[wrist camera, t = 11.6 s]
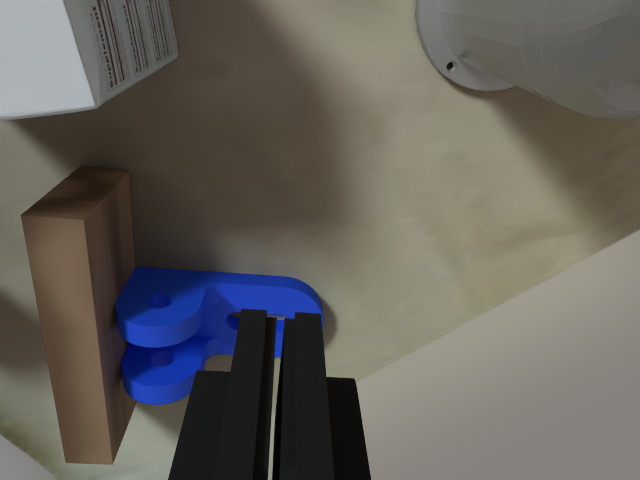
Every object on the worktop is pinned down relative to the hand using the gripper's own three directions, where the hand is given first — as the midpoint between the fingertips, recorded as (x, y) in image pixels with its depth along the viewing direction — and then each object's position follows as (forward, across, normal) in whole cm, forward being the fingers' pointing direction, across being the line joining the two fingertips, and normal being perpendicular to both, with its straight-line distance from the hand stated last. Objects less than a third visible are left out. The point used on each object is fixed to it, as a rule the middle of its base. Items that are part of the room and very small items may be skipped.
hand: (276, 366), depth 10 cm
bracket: (+32, +4, +22) cm, 39 cm away
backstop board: (+32, +15, +20) cm, 41 cm away
